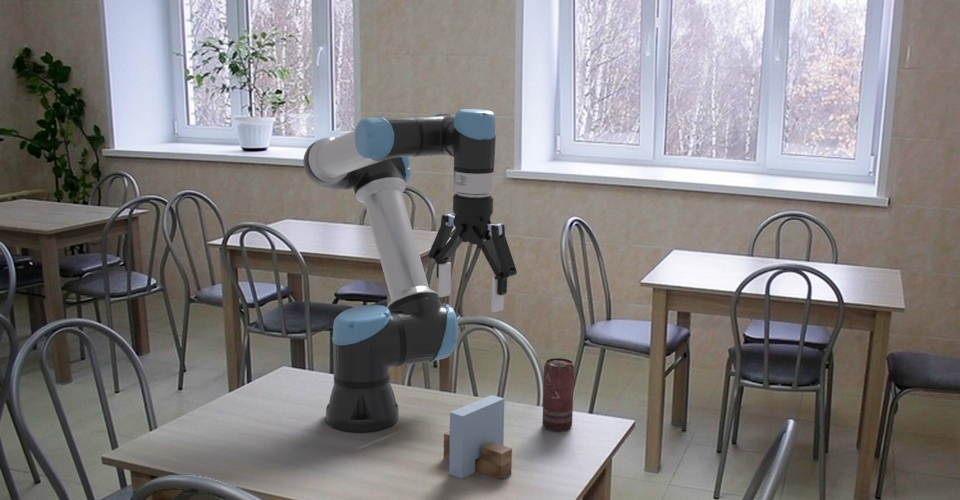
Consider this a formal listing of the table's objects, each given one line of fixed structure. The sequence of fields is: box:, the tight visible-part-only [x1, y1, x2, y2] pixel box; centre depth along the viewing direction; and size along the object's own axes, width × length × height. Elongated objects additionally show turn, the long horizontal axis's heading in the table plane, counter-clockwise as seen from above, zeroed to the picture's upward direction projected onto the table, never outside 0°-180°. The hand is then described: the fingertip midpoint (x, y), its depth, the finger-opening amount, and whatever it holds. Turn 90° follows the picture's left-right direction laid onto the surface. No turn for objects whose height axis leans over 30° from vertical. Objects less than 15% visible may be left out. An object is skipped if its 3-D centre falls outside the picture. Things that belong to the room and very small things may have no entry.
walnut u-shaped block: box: [443, 430, 513, 480], centre depth 183 cm, size 14×3×5 cm, turn 50°
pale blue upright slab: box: [448, 394, 505, 479], centre depth 182 cm, size 3×12×12 cm, turn 140°
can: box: [542, 357, 576, 432], centre depth 201 cm, size 6×6×14 cm
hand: (470, 303), depth 188 cm, fingers open, 13 cm apart
